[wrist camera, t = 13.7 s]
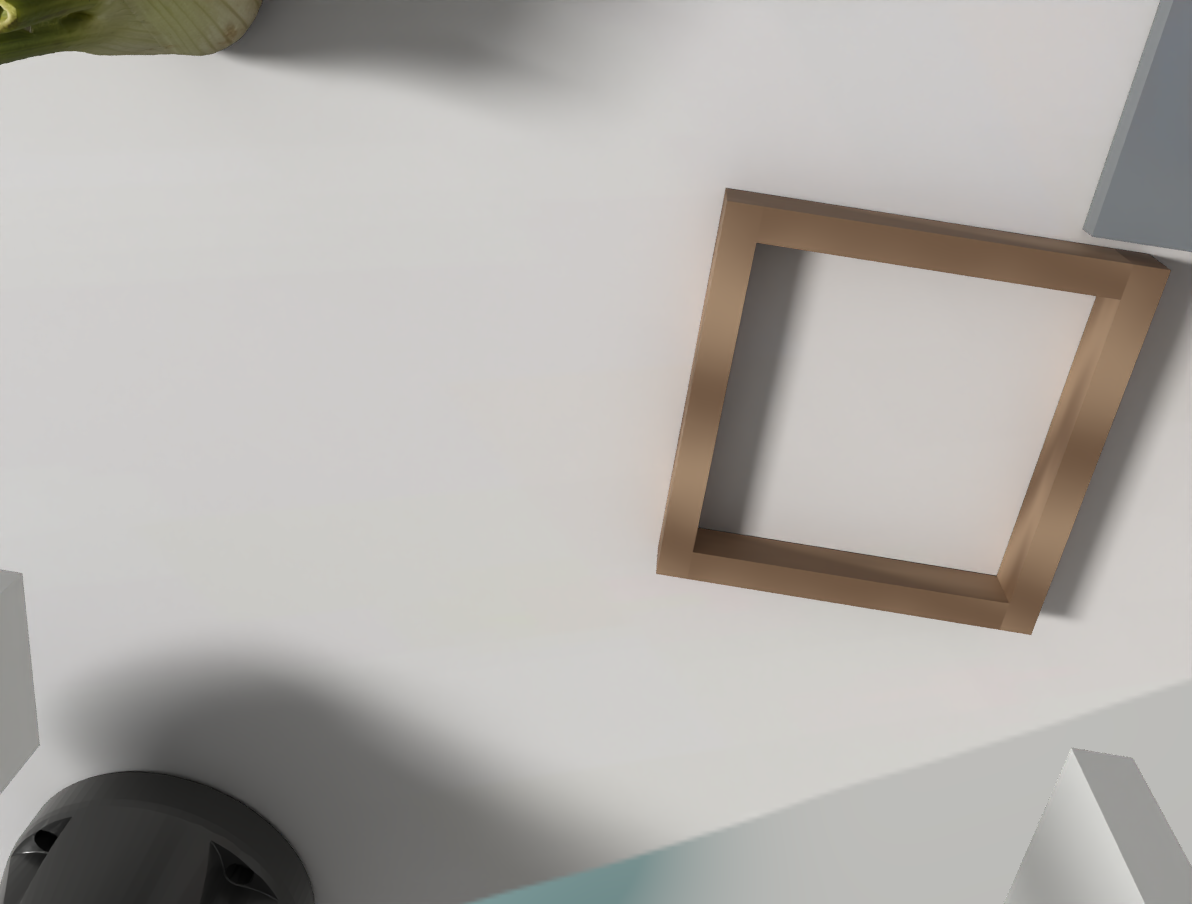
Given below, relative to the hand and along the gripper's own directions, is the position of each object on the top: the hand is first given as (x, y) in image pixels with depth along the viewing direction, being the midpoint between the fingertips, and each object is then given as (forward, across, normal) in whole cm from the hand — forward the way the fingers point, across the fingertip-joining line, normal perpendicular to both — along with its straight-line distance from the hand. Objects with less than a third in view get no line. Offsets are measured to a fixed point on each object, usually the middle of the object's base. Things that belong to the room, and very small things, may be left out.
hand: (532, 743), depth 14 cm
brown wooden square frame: (+28, -11, +6) cm, 31 cm away
